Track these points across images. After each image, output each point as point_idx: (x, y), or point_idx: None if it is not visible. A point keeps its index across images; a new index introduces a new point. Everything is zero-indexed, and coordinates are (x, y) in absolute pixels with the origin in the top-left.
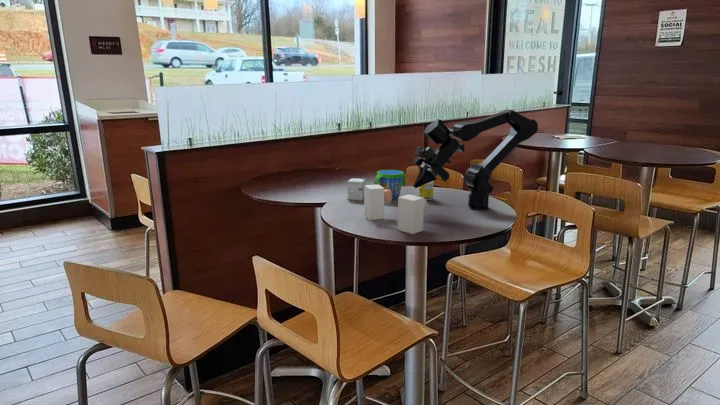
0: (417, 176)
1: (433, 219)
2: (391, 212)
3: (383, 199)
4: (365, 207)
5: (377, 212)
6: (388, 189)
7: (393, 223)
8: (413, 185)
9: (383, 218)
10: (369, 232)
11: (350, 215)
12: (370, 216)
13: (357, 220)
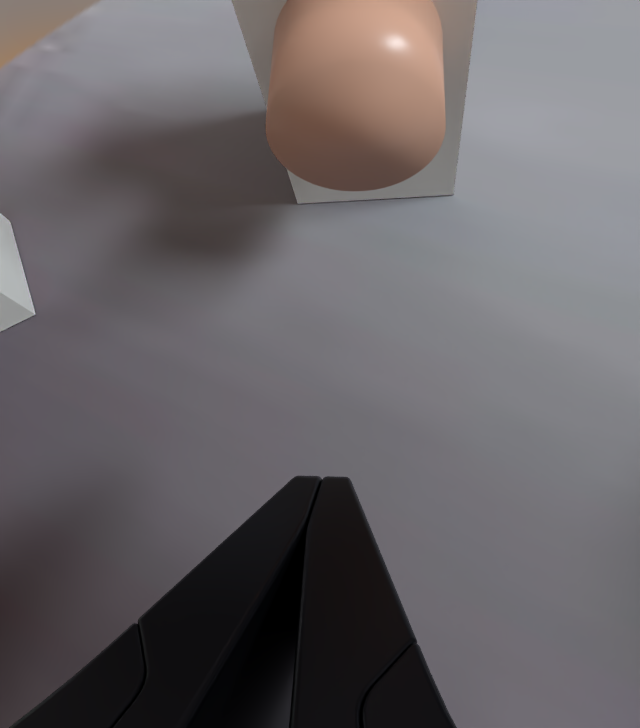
0: (410, 667)
1: (96, 626)
2: (471, 320)
3: (251, 56)
4: None
5: None
6: (343, 41)
7: (152, 238)
8: (340, 480)
9: (297, 199)
10: (57, 59)
11: None
12: None
13: None
